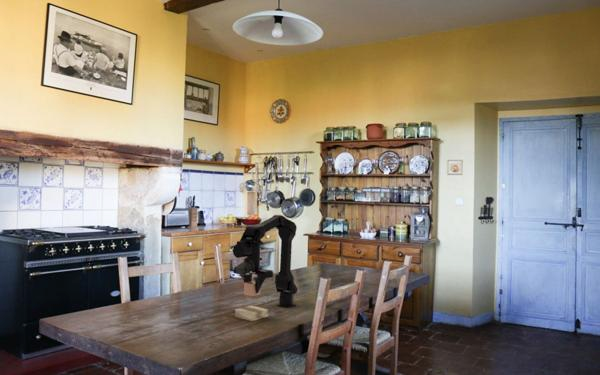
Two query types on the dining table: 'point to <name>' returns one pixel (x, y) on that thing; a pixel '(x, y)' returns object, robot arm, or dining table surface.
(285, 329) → the dining table surface
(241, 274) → the robot arm
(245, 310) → the base
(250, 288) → the cube
